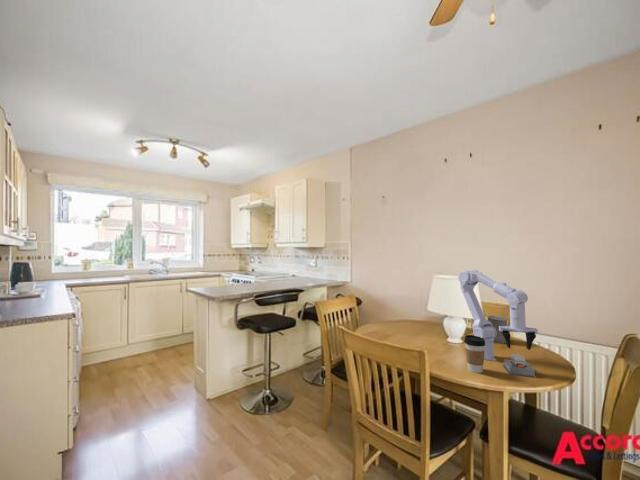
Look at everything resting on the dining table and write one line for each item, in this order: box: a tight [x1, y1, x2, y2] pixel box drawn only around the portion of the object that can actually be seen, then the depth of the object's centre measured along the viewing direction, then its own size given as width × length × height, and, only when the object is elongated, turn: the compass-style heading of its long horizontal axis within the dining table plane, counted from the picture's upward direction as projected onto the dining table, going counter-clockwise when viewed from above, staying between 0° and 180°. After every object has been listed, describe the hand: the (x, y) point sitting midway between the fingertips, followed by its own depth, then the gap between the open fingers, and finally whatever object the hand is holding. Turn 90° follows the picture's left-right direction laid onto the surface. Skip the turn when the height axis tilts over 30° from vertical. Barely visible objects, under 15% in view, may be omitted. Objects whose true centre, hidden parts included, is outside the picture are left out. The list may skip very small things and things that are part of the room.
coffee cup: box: [463, 334, 485, 374], centre depth 129 cm, size 8×8×15 cm
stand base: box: [502, 358, 538, 378], centre depth 127 cm, size 10×10×4 cm
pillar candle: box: [487, 315, 508, 344], centre depth 168 cm, size 10×10×15 cm
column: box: [511, 353, 526, 367], centre depth 127 cm, size 4×4×7 cm
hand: (518, 348), depth 128 cm, fingers open, 7 cm apart
